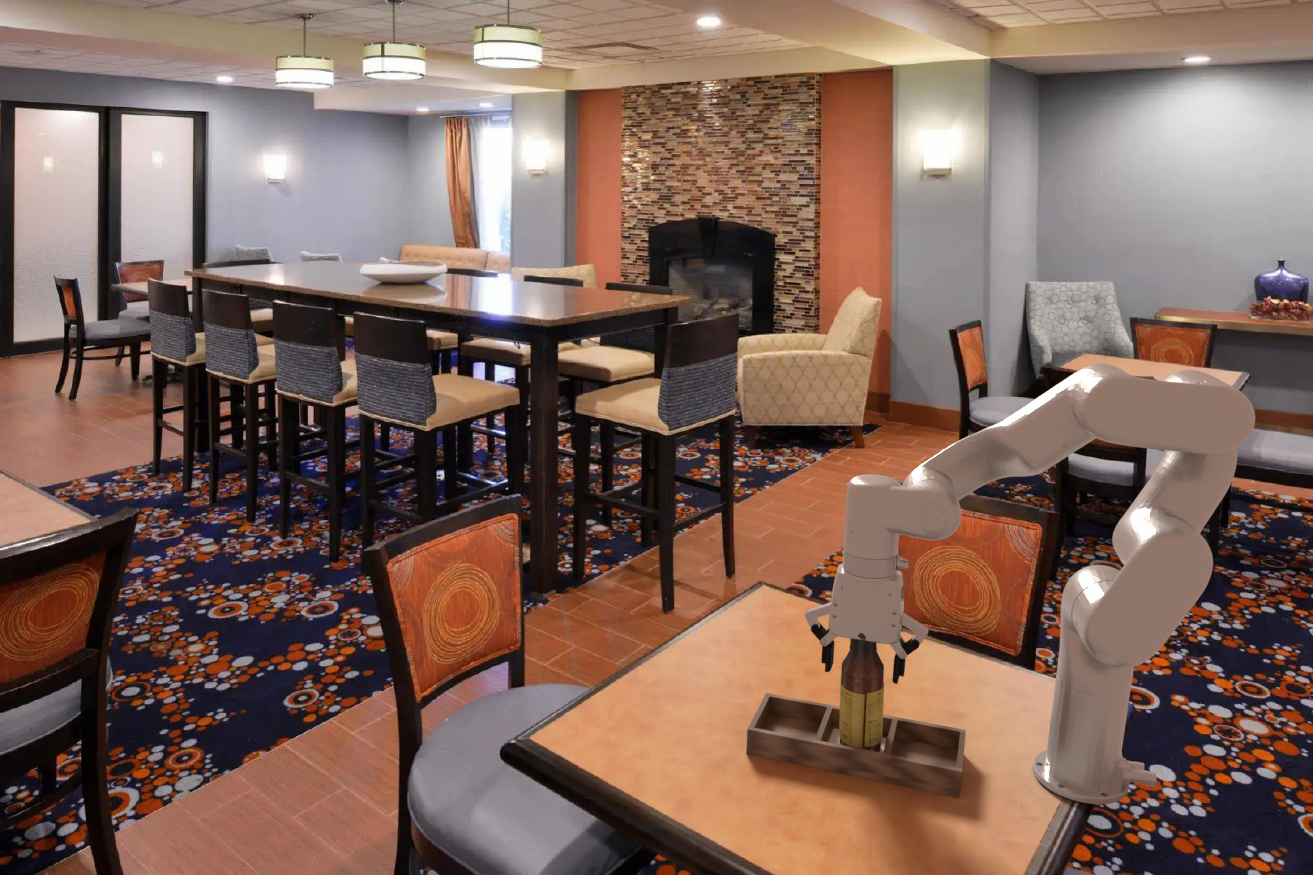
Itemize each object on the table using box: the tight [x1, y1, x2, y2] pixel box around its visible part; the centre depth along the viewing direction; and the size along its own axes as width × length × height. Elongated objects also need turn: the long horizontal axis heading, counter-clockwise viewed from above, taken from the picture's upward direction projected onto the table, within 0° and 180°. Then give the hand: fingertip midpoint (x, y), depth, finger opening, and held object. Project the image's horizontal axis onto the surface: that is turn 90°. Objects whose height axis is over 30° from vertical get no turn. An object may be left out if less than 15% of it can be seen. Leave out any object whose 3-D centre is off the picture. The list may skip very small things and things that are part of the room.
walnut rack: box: [746, 692, 967, 798], centre depth 146 cm, size 30×12×4 cm, turn 71°
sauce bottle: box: [839, 633, 885, 752], centre depth 143 cm, size 7×6×20 cm
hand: (862, 673), depth 143 cm, fingers open, 9 cm apart
